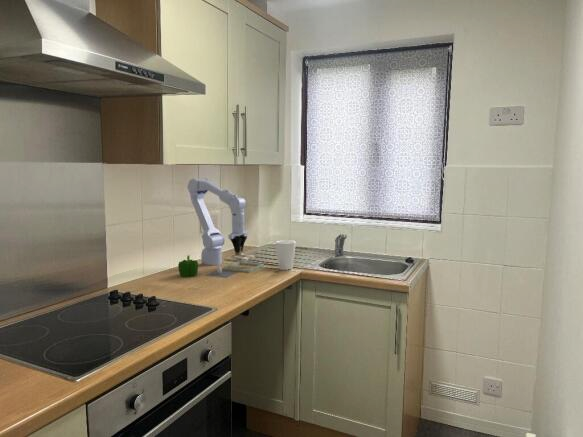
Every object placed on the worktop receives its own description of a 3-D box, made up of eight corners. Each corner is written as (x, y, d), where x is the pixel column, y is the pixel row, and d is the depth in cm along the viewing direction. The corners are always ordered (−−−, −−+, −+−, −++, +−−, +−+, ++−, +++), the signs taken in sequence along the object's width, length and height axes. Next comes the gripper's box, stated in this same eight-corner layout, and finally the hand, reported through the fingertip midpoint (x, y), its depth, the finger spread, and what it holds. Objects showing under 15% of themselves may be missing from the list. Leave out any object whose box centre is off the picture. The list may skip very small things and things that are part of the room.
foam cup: (287, 271, 207) (287, 244, 206) (272, 269, 213) (271, 242, 211) (299, 268, 215) (299, 241, 213) (284, 265, 220) (284, 239, 219)
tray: (223, 272, 206) (223, 267, 206) (239, 266, 219) (239, 261, 218) (249, 275, 201) (249, 270, 200) (263, 269, 213) (263, 263, 213)
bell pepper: (193, 281, 191) (193, 258, 190) (176, 280, 193) (175, 257, 192) (201, 276, 199) (201, 254, 198) (184, 275, 201) (183, 254, 200)
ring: (246, 261, 204) (246, 250, 203) (231, 258, 207) (231, 247, 206) (254, 258, 211) (255, 247, 210) (240, 255, 214) (240, 244, 214)
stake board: (204, 278, 196) (204, 268, 195) (218, 273, 206) (218, 263, 205) (226, 281, 191) (225, 271, 191) (239, 275, 201) (239, 265, 200)
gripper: (237, 225, 200) (238, 255, 202) (253, 221, 213) (253, 249, 215) (224, 224, 203) (224, 254, 204) (240, 221, 216) (241, 248, 218)
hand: (238, 251), depth 210 cm, fingers closed on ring
